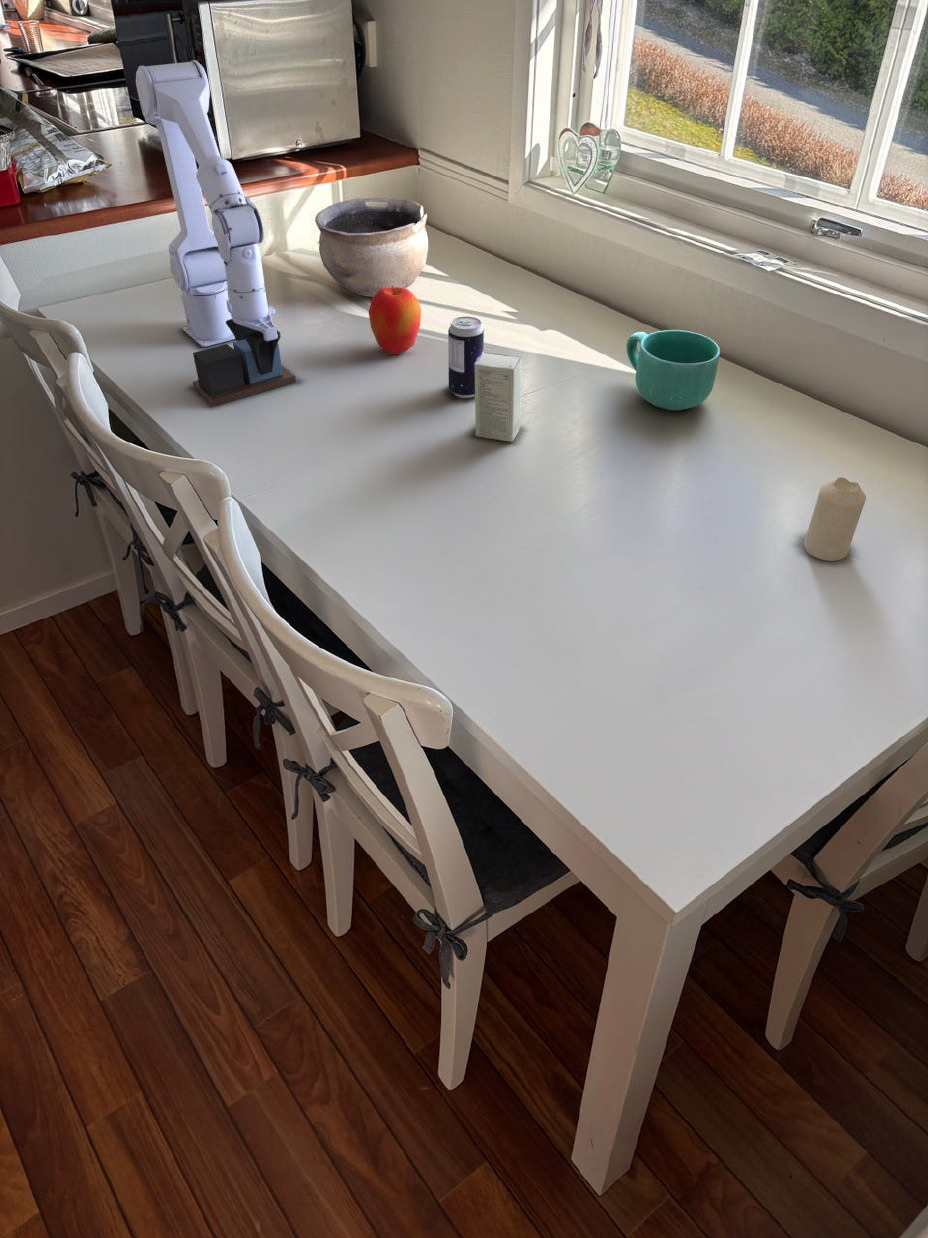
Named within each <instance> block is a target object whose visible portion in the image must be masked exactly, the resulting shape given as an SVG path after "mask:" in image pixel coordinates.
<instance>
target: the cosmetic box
mask: <svg viewBox="0 0 928 1238" xmlns="http://www.w3.org/2000/svg"><path fill="white" fill-rule="evenodd" d="M521 387H522V357H521V356H516V355H508V354H502V353H493V352H485V351H483V353H482V355H481V356H480V357H479V359H478V360H477V361H476V362H475V396H474V403H475V405H474V407H475V408H474V410H475V412H474V413H475V419H474V420H475V436H476V437H479V438H485V439H492V440H496V441H497V440H498V441H504V442H511V443H512V442H514V440H515V438H516V437H517V435H518V434H519V431H520V430H521V401H522V399H521V398H522V397H521V396H522V393H521V392H522V388H521Z"/></svg>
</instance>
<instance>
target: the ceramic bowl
mask: <svg viewBox="0 0 928 1238" xmlns="http://www.w3.org/2000/svg"><path fill="white" fill-rule="evenodd" d="M427 219H428V213H424V206H423V205H422V204H420V203H419V202H416V201H413V200H409V199H397V198H383V197H365V198H363V197H359V198H358V197H357V198H352V199H347V200H343V201H339V202H336V203H334V204H332V205H328V206H327V207H325V208H324V209H322V210H320V211H319V212H318V213H316V215H315V218H314V222H315V224H316V227H317V228H318V230H319V238H318V251H319V252H318V253H319V256H320V260H321V263H322V265H323V267H324V268H325V270H326V271H327V273H328V274H329V275H330V276H331V278H332V279H333V280H334V281H335V282H337V283H338V284H339V285H341V286H342V287H343V288H344V289H346V290H347V291H348V292H351V293H353V294H355V295H358V296H362V297H372V298H373V297H374V296H375V294H376V293H377V292H378V291H379V290H380V289H383V288H392V286H393V287H401V288H406V289H408V288H409V287H411V285H412V284H413V283H414V282H415V281H416V280H417V278H418V277H419V275H420V274H421V272H422V271H423V268H424V267H425V265H426V262H427V257H428V251H429V238H428V233H427V230H426V223H427Z"/></svg>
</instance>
